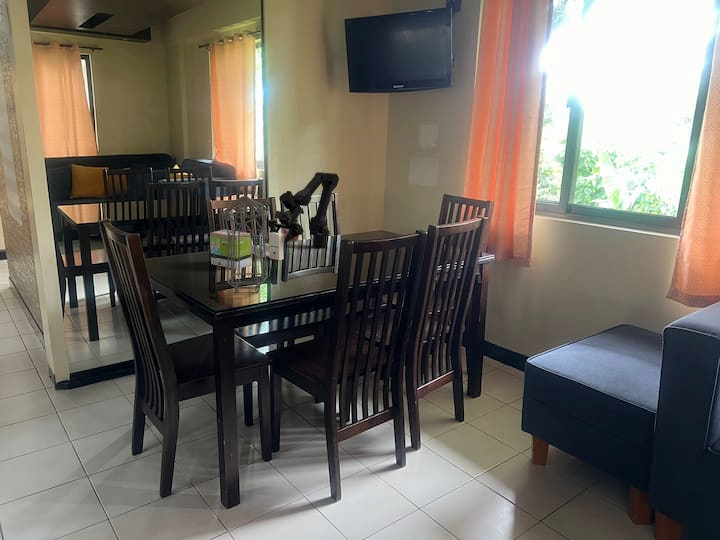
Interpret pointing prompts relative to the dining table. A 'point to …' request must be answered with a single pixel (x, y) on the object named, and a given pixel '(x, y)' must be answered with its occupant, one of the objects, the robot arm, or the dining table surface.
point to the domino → (276, 246)
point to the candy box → (285, 232)
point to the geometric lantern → (227, 212)
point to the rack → (262, 250)
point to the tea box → (221, 249)
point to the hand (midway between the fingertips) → (276, 241)
